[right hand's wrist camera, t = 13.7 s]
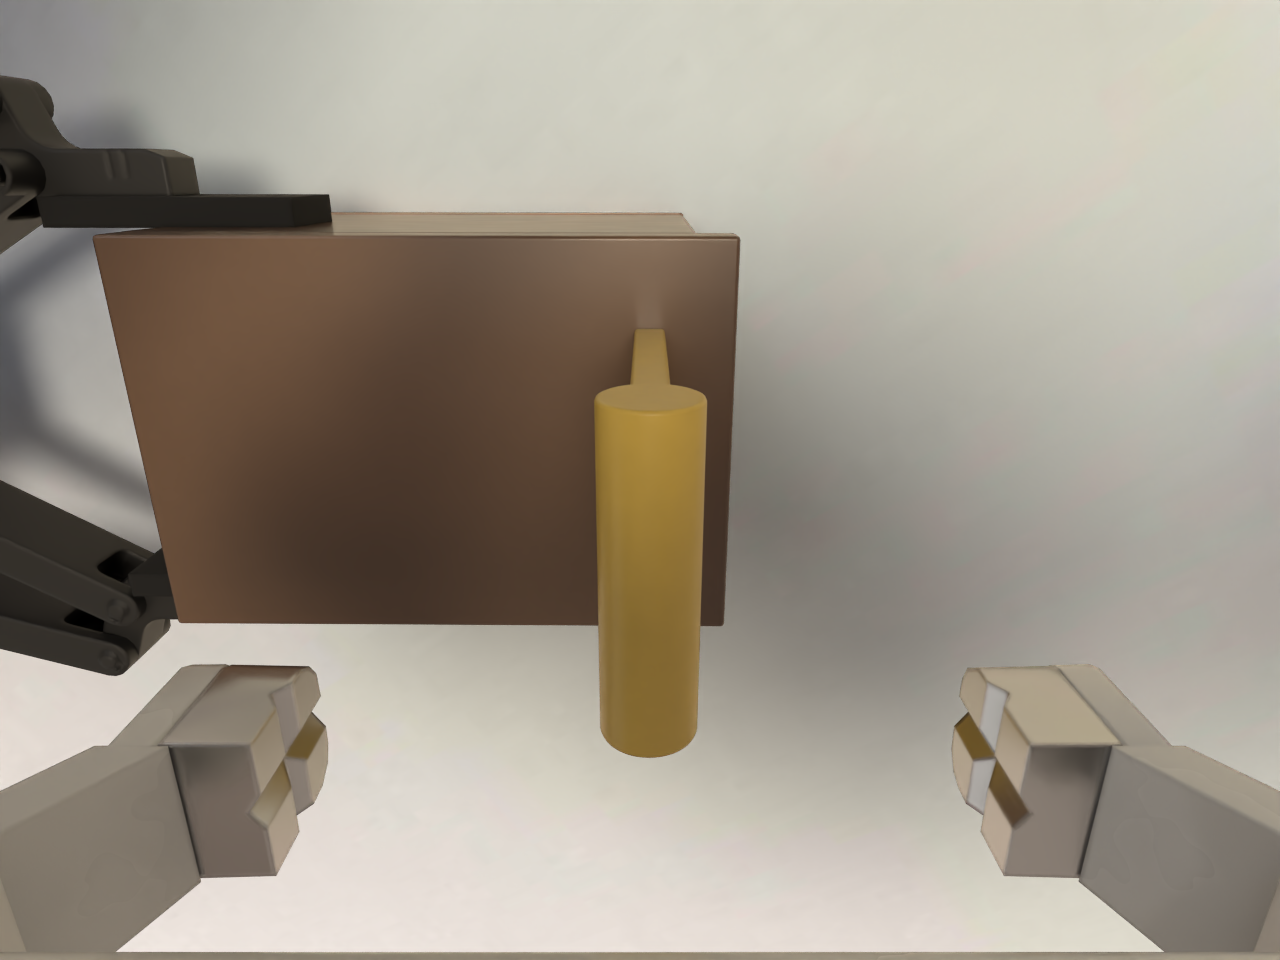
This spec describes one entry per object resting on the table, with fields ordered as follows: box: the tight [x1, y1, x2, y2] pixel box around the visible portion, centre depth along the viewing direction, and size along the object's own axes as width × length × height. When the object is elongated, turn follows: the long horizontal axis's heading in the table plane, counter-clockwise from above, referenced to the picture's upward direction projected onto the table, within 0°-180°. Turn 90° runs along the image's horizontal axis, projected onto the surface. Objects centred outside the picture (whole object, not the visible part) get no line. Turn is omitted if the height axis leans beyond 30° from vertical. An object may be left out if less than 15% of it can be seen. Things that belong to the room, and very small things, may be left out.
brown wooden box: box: [123, 212, 695, 233], centre depth 26 cm, size 14×10×10 cm
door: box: [93, 232, 740, 758], centre depth 17 cm, size 15×10×9 cm
